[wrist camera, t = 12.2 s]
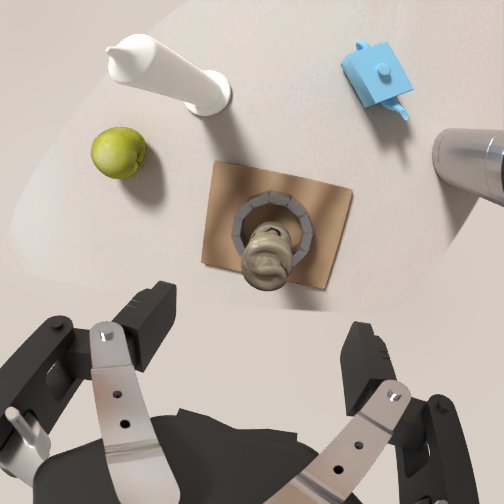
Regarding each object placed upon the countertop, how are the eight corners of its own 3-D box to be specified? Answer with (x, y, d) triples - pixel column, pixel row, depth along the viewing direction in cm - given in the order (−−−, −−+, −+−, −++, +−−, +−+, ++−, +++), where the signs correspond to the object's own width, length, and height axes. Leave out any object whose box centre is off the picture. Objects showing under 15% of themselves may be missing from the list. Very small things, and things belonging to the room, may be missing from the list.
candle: (226, 119, 38) (140, 96, 15) (180, 113, 38) (63, 99, 15) (235, 73, 35) (164, 1, 12) (189, 69, 36) (83, 15, 13)
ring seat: (318, 200, 40) (320, 204, 37) (300, 268, 44) (301, 277, 41) (242, 184, 40) (238, 187, 37) (230, 254, 44) (226, 262, 42)
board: (351, 189, 39) (352, 190, 38) (323, 285, 46) (324, 288, 45) (215, 161, 40) (214, 161, 40) (202, 260, 47) (201, 262, 46)
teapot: (406, 116, 34) (428, 113, 27) (373, 130, 36) (390, 128, 29) (368, 45, 31) (383, 28, 24) (334, 57, 32) (342, 41, 26)
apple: (151, 181, 43) (125, 190, 35) (106, 166, 43) (77, 174, 35) (163, 134, 40) (138, 134, 32) (117, 122, 40) (87, 122, 32)
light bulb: (253, 210, 41) (234, 247, 28) (291, 208, 41) (292, 244, 27) (256, 246, 43) (240, 298, 30) (293, 245, 43) (294, 297, 29)
